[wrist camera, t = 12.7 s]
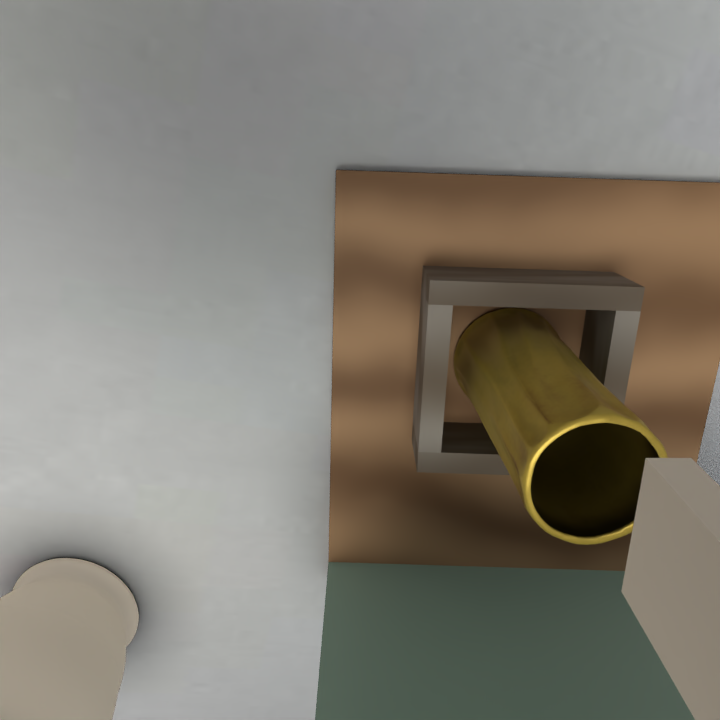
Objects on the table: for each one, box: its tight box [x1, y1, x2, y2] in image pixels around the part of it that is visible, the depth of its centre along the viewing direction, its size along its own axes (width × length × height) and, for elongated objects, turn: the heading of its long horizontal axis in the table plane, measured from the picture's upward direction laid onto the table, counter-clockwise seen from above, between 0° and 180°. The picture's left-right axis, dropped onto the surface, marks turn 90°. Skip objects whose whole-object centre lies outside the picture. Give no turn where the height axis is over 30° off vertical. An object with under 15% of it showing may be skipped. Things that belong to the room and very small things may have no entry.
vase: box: [454, 308, 668, 545], centre depth 29 cm, size 6×6×14 cm
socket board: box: [329, 170, 720, 571], centre depth 35 cm, size 26×22×5 cm
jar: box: [0, 558, 139, 720], centre depth 36 cm, size 11×10×15 cm
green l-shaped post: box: [315, 562, 695, 720], centre depth 30 cm, size 9×22×20 cm, turn 88°
